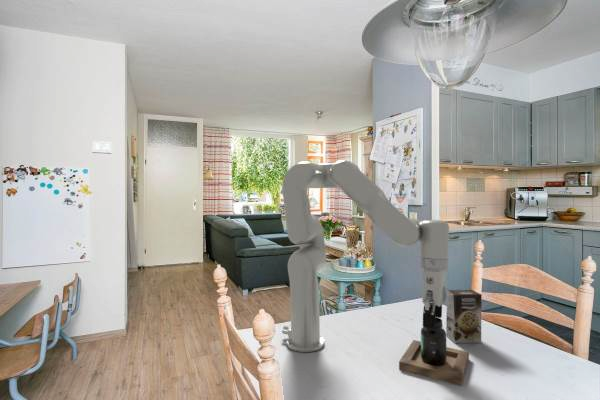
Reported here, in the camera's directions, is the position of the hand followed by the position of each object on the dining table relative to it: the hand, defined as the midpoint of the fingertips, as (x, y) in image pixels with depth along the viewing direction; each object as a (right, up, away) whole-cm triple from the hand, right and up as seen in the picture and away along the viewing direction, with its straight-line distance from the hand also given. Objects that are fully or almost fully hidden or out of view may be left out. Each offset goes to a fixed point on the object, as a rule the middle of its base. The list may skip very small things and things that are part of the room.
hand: (432, 322), depth 98 cm
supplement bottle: (0, -11, 0) cm, 11 cm away
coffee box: (+17, -12, +16) cm, 26 cm away
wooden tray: (+1, -12, 0) cm, 12 cm away
